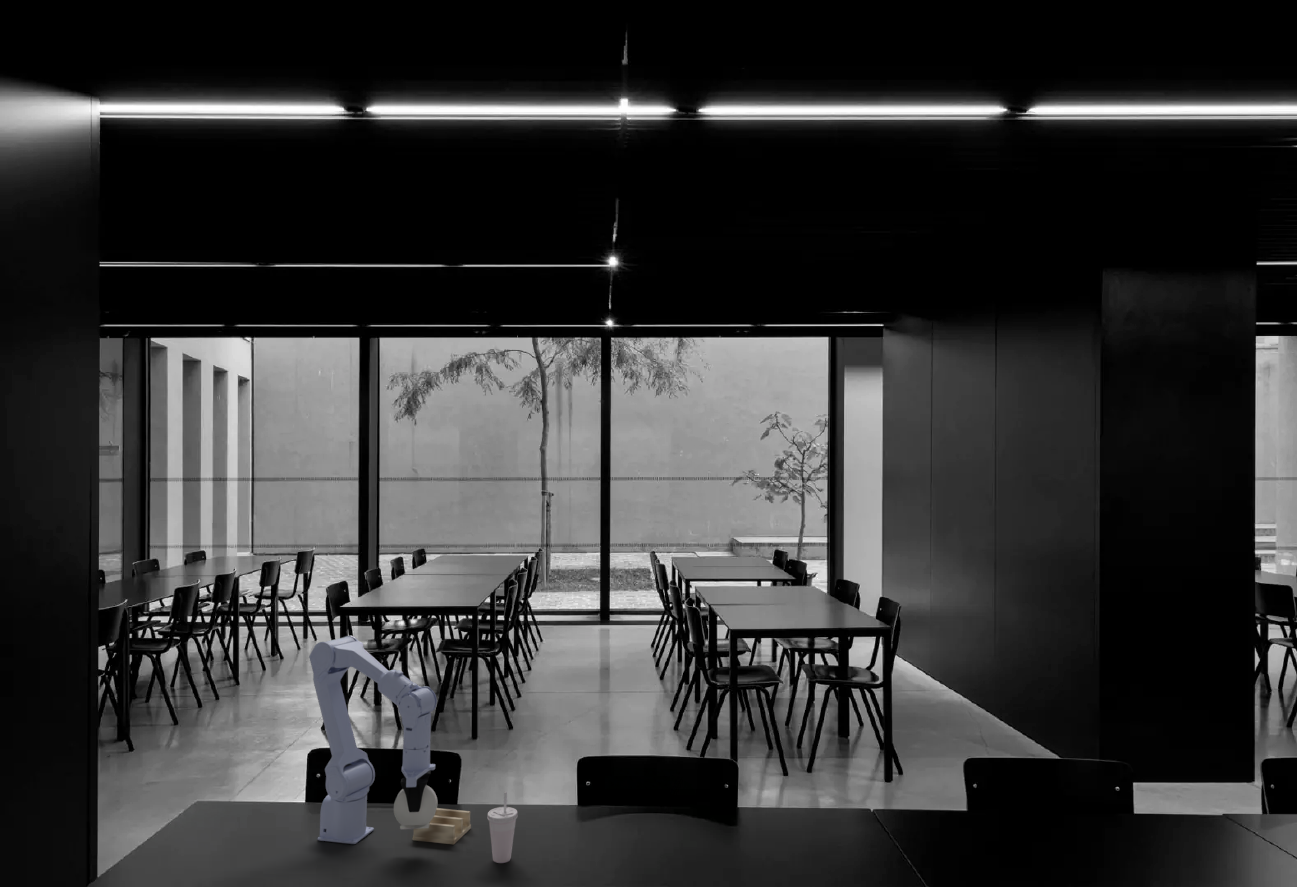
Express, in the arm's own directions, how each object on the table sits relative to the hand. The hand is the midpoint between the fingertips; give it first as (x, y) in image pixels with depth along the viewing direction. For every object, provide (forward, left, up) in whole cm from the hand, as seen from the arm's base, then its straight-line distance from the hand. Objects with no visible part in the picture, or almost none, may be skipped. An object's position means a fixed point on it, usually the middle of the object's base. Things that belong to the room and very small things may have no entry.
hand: (415, 809), depth 176 cm
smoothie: (+20, 0, -9) cm, 22 cm away
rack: (+2, +9, -9) cm, 13 cm away
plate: (0, 0, -4) cm, 4 cm away
